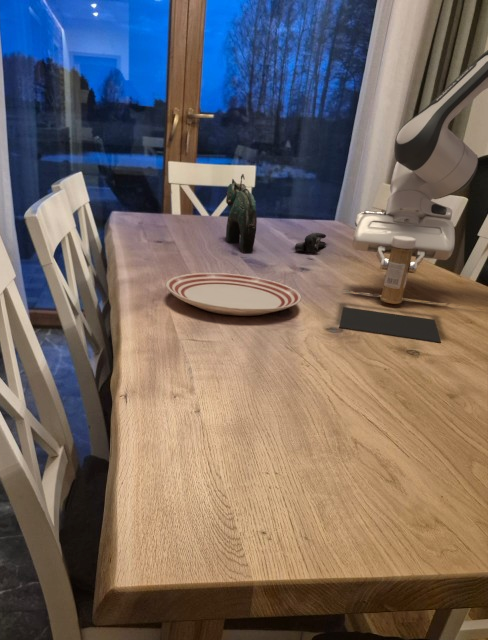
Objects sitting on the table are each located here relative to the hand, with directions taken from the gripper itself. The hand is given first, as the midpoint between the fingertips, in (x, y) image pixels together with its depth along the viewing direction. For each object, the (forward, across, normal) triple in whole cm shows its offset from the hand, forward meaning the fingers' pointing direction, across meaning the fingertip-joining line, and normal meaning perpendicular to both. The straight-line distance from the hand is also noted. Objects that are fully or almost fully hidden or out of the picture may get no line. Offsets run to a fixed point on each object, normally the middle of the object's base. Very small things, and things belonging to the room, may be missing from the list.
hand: (397, 269), depth 119 cm
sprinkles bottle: (+5, 0, +6) cm, 7 cm away
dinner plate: (+16, -32, -5) cm, 36 cm away
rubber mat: (+15, 0, -4) cm, 16 cm away
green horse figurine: (-25, -42, +36) cm, 61 cm away
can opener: (-31, -22, +42) cm, 56 cm away
